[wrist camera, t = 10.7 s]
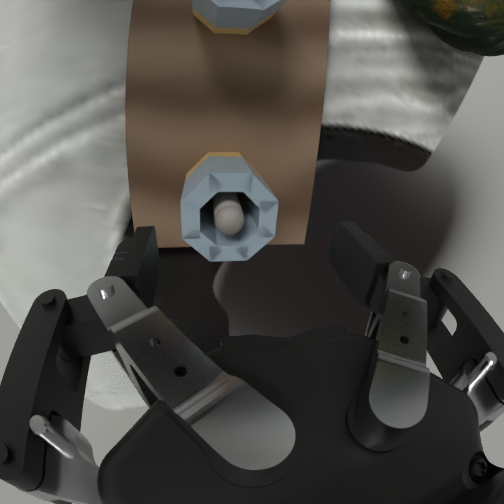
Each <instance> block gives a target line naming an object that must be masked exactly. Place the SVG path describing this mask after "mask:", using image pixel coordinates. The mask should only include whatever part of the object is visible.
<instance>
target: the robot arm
mask: <svg viewBox="0 0 504 504" xmlns="http://www.w3.org/2000/svg"><path fill="white" fill-rule="evenodd" d="M329 258H330V263H331V265H332V266H333V268H334V269H335V271H336V272H337V274H338V276H339V277H340V279H341V280H342V282H343V283H344V285H345V286H346V288H347V290H348V291H349V293H350V294H351V296H352V297H353V299H354V301H355V302H356V304H357V305H358V307H359V309H360V310H366V309H372V313H371V315H370V318H369V322H368V326H367V329H366V333H365V336H364V335H360V334H355V333H348V332H347V330H346V328H345V326H344V324H341V325H334V326H327V327H320V328H315V329H312V330H309V331H307V332H304V333H301V334H298V335H296V336H292V337H289V338H281V337H271V336H261V335H243V336H229V337H221V347H218V348H215V349H212V350H210V351H207V352H205V353H203V352H202V351H201V350H200V349H199V348H198V347H197V346H196V345H195V344H193V343H192V342H191V341H190V340H189V339H188V338H187V337H186V336H185V335H184V334H183V333H182V332H181V331H180V330H179V329H178V328H177V327H176V326H175V325H174V324H173V323H172V322H171V321H170V320H169V319H168V318H167V317H166V316H165V315H164V314H163V313H162V312H161V311H160V310H159V309H158V308H157V307H156V306H153V305H154V299H155V293H156V288H157V282H158V277H159V271H160V260H159V252H158V245H157V237H156V230H155V227H154V226H141V227H137V228H136V230H135V233H134V235H133V237H132V238H128V239H125V240H124V241H123V242H121V243H120V244H119V245H118V247H117V249H116V251H115V254H114V256H113V258H112V260H111V262H110V265H109V267H108V269H107V272H106V274H105V276H104V277H103V278H100V279H98V280H96V281H94V282H93V283H92V284H91V285H90V286H89V288H88V290H87V295H84V296H81V297H76V298H72V299H68V300H67V297H66V295H65V293H64V292H63V291H62V290H59V289H52V290H48V291H46V292H44V293H42V294H40V295H39V296H38V297H37V298H36V299H35V301H34V302H33V305H32V307H31V309H30V311H29V313H28V315H27V317H26V319H25V322H24V324H23V326H22V328H21V331H20V333H19V335H18V338H17V340H16V343H15V345H14V348H13V350H12V353H11V355H10V358H9V361H8V364H7V367H6V369H5V372H4V375H3V379H2V382H1V385H0V479H2V480H4V481H5V482H7V483H9V484H12V485H13V486H15V487H17V488H18V489H19V490H21V491H23V492H26V493H28V494H30V495H33V496H35V497H37V498H39V499H42V500H45V501H50V502H53V503H55V504H72V503H75V504H504V468H500V467H497V466H495V465H493V464H491V463H490V462H489V461H488V460H487V458H486V456H485V454H484V452H483V447H482V443H481V438H480V431H482V430H483V429H485V428H486V427H487V426H489V425H490V424H491V423H492V422H493V421H494V420H496V419H497V418H498V417H499V416H500V415H501V414H502V413H504V333H503V331H502V330H501V329H500V327H499V326H498V325H497V324H496V322H495V321H494V320H493V318H492V317H491V316H490V315H489V313H488V312H487V311H486V310H485V308H484V307H483V306H482V305H481V304H480V302H479V301H478V300H477V299H476V298H475V296H474V295H473V294H472V293H471V292H470V291H469V290H468V288H467V287H466V286H465V285H464V284H463V283H462V282H461V280H460V279H459V278H458V277H457V276H456V275H454V274H453V273H452V272H450V271H448V270H446V269H442V268H438V269H435V270H434V272H433V275H432V277H431V278H426V277H420V274H419V273H418V271H417V270H416V269H415V268H414V267H412V266H411V265H409V264H406V263H403V262H394V261H393V259H392V258H391V257H390V256H389V255H388V254H387V253H386V252H385V251H384V250H383V249H382V248H381V247H380V246H379V245H378V244H377V242H376V241H375V240H374V239H373V238H372V237H370V236H369V235H367V234H365V233H363V231H361V230H360V228H359V227H358V226H357V225H356V224H355V223H354V222H337V223H336V224H335V227H334V232H333V236H332V241H331V246H330V251H329ZM447 309H449V310H450V312H451V313H452V315H453V316H454V317H455V319H456V321H457V328H456V331H455V332H454V334H453V336H452V335H451V334H450V332H449V331H448V329H447V328H446V326H445V325H444V324H443V322H442V321H441V320H442V318H443V317H444V315H445V313H446V311H447ZM107 351H111V352H112V354H113V356H114V357H115V359H116V360H117V362H118V363H119V365H120V366H121V368H122V369H123V371H124V372H125V373H126V375H127V376H128V378H129V379H130V380H131V382H132V383H133V385H134V386H135V388H136V389H137V391H138V392H139V394H140V396H141V397H142V399H143V400H144V401H145V403H146V404H147V406H148V407H149V409H148V410H147V411H146V413H145V414H144V415H143V416H142V417H141V418H140V419H139V420H138V421H137V422H136V424H135V425H134V426H133V427H132V428H131V429H130V430H129V431H128V432H127V433H126V434H125V435H124V436H123V438H122V439H121V440H120V441H119V442H118V443H117V444H116V445H115V446H114V447H113V448H112V449H111V450H110V451H109V452H108V454H107V455H106V456H105V458H104V459H103V461H102V463H101V465H100V467H98V466H97V465H96V463H95V461H94V458H93V451H92V447H91V444H90V442H89V441H88V439H87V438H86V437H85V436H84V435H82V434H81V433H80V428H81V418H82V409H83V402H84V395H85V388H86V382H87V376H88V370H89V364H90V359H91V355H95V354H99V353H103V352H107ZM427 351H428V353H429V354H430V356H431V358H432V360H433V361H434V363H435V365H436V367H437V369H438V370H439V372H440V374H441V376H442V378H443V379H444V380H443V379H441V378H440V377H438V376H436V375H434V374H433V373H431V372H430V370H429V369H428V368H427V367H426V352H427Z"/></svg>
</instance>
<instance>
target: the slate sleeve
mask: <svg viewBox="0 0 504 504" xmlns="http://www.w3.org/2000/svg"><path fill="white" fill-rule="evenodd" d="M217 192H244V195H243V196H242V197H241V198H240V199H239V202H240V206H241V209H242V212H243V215H244V225H243V227H242V229H241V230H240V231H239V232H237V233H235V234H231V235H228V234H224V233H222V232H220V231H219V230H218V229H217V227H216V225H215V219H214V208H213V206H212V205H211V204H210V203H209V202H208V201H209V200H210V199H211V198H212V197H213V196H214V195H215V194H216V193H217ZM278 202H279V201H278V199H277V198H276V197H275V195H274V194H273V192H272V191H271V189H270V188H269V186H268V185H267V184H266V182H265V181H264V179H263V178H262V176H261V175H260V174H259V173H258V172H257V171H256V169H255V168H254V167H253V166H252V165H251V164H250V163H249V162H248V161H247V160H246V159H245V158H244V157H243V156H242V155H241V154H240V152H208V153H207V154H206V155H205V156H204V157H203V158H202V159H201V160H200V161H199V162H198V163H197V164H196V165H195V166H194V167H193V168H192V169H191V170H190V171H189V172H188V173H187V175H186V179H185V183H184V188H183V192H182V196H181V201H180V203H181V224H182V239H183V240H184V241H185V242H187V243H188V244H189V245H190V246H192V247H193V248H194V249H195V250H196V251H198V252H199V253H200V254H201V255H203V256H204V257H205V258H206V259H208V260H209V261H210V262H211V261H242V260H248V259H249V258H250V257H251V256H253V255H254V254H255V253H256V252H257V251H258V250H260V249H261V248H262V247H263V246H265V245H266V244H267V243H268V242H269V241H271V240H272V239H273V238H274V237H275V230H276V221H277V212H278Z"/></svg>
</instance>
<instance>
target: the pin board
mask: <svg viewBox="0 0 504 504" xmlns="http://www.w3.org/2000/svg"><path fill="white" fill-rule="evenodd" d="M329 14H330V0H287V1H286V2H285V3H284V4H283V5H282V6H281V7H280V9H279V10H278V11H277V12H276V13H275V14H274V15H273V16H272V17H271V18H270V19H269V20H267V21H266V22H264V23H263V24H261V25H260V26H258V27H257V28H255V29H254V30H253V31H251V32H250V33H248V34H247V35H242V34H221V33H214V32H212V31H211V30H210V29H209V28H208V27H207V26H206V25H205V24H203V23H202V22H201V21H200V20H199V19H198V18H196V17H195V16H194V15H193V9H192V1H191V0H133V7H132V14H131V22H130V31H129V41H128V54H127V70H126V147H127V165H128V178H129V190H130V200H131V209H132V217H133V225H134V233H135V230H136V228H137V227H141V226H154V227H155V230H156V237H157V245H158V248H164V247H192V246H190V245H189V244H188V243H187V242H185V241H184V240H183V239H182V224H181V203H180V201H181V196H182V192H183V188H184V183H185V179H186V175H187V173H188V172H189V171H190V170H191V169H192V168H193V167H194V166H195V165H196V164H197V163H198V162H199V161H200V160H201V159H202V158H203V157H204V156H205V155H206V154H207V153H208V152H240V154H241V155H242V156H243V157H244V158H245V159H246V160H247V161H248V162H249V163H250V164H251V165H252V166H253V167H254V168H255V169H256V171H257V172H258V173H259V174H260V175H261V176H262V178H263V179H264V181H265V182H266V184H267V185H268V186H269V188H270V189H271V191H272V192H273V194H274V195H275V197H276V198H277V199H278V201H279V202H278V212H277V221H276V230H275V237H274V238H273V239H272V240H271V241H269V242H268V243H267V244H266V245H284V244H285V245H286V244H304V242H305V236H306V230H307V224H308V218H309V211H310V204H311V198H312V191H313V184H314V176H315V170H316V162H317V155H318V147H319V138H320V129H321V120H322V111H323V101H324V90H325V79H326V66H327V52H328V36H329ZM243 195H244V192H217V193H216V194H215V195H214V196H213V197H212V198H211V199H210V200H209V201H208V202H209V203H210V204H211V205H212V206H213V208H214V219H215V225H216V227H217V229H218V230H219V231H220V232H222V233H224V234H228V235H231V234H235V233H237V232H239V231H240V230H241V229H242V227H243V225H244V215H243V212H242V209H241V206H240V202H239V199H240V198H241V197H242V196H243Z"/></svg>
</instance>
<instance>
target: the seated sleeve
mask: <svg viewBox="0 0 504 504" xmlns="http://www.w3.org/2000/svg"><path fill="white" fill-rule="evenodd" d="M191 1H192V9H193V15H194V16H195V17H196V18H198V19H199V20H200V21H201V22H202V23H203V24H205V25H206V26H207V27H208V28H209V29H210V30H211V31H212V32H214V33H221V34H242V35H247V34H248V33H250V32H251V31H253V30H254V29H255V28H257V27H258V26H260V25H261V24H263V23H264V22H266V21H267V20H269V19H270V18H271V17H272V16H273V15H274V14H275V13H276V12H277V11H278V10H279V9H280V7H281V6H282V5H283V4H284V3H285V2H286V1H287V0H191Z"/></svg>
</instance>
